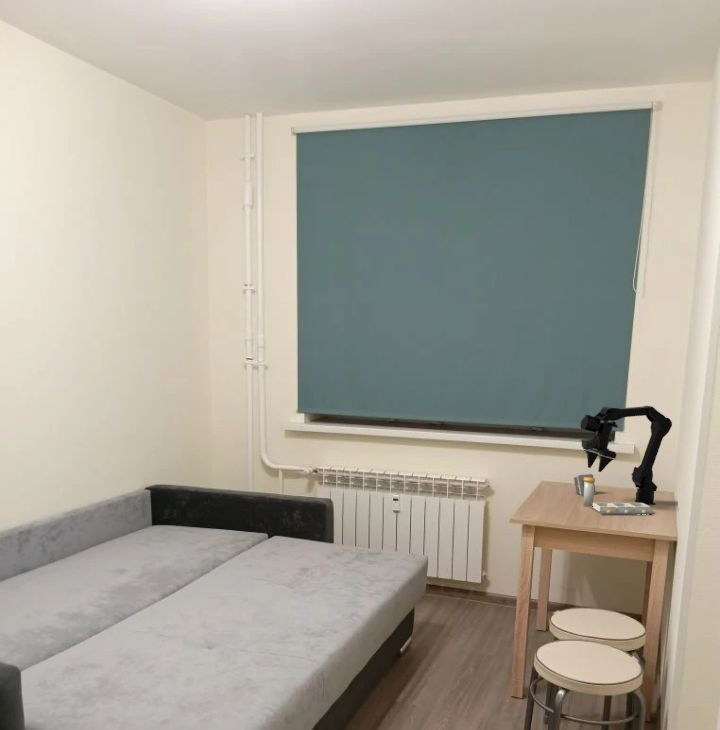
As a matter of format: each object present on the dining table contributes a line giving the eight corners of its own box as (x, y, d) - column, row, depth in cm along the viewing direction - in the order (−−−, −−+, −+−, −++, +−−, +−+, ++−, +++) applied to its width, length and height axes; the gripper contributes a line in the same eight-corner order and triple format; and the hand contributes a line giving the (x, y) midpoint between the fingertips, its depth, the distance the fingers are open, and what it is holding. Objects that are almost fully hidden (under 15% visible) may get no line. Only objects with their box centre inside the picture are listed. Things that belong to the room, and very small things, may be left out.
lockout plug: (591, 504, 288) (592, 477, 287) (595, 507, 283) (596, 479, 283) (580, 504, 287) (581, 477, 287) (585, 507, 283) (586, 479, 282)
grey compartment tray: (641, 508, 282) (641, 502, 281) (654, 515, 272) (654, 508, 272) (591, 509, 280) (591, 502, 280) (602, 515, 270) (602, 508, 270)
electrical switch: (581, 496, 304) (580, 475, 304) (573, 494, 309) (572, 474, 309) (596, 494, 308) (595, 474, 309) (588, 493, 313) (587, 473, 313)
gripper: (576, 427, 296) (567, 461, 296) (597, 433, 278) (587, 469, 278) (599, 433, 298) (590, 467, 298) (621, 440, 279) (611, 475, 279)
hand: (594, 469), depth 288 cm, fingers open, 9 cm apart
